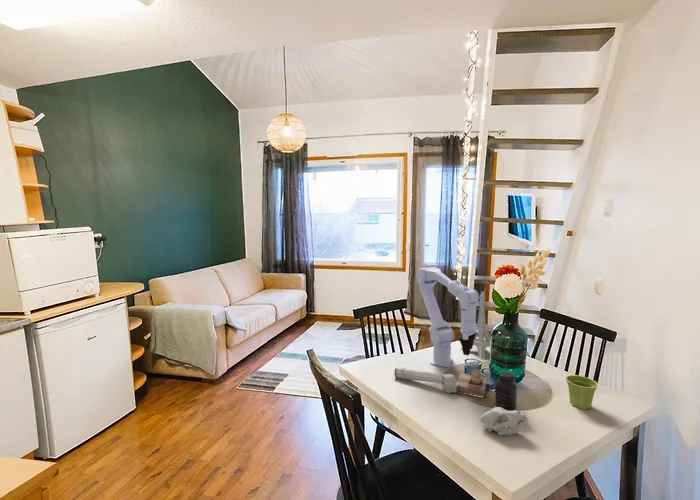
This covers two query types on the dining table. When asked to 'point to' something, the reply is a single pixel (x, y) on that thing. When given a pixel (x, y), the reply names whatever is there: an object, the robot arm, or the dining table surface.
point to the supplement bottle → (506, 391)
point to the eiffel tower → (481, 330)
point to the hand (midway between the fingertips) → (467, 351)
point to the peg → (476, 377)
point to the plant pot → (581, 390)
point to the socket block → (467, 386)
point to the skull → (503, 420)
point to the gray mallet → (429, 378)
